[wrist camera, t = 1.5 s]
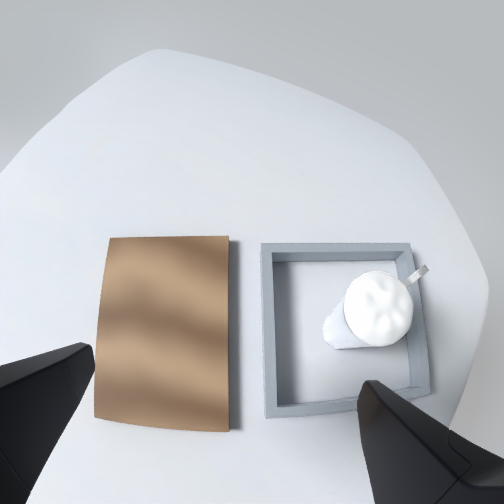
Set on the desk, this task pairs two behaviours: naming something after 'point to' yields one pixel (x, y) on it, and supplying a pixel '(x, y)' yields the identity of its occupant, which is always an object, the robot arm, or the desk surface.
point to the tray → (339, 253)
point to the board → (164, 333)
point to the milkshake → (372, 311)
